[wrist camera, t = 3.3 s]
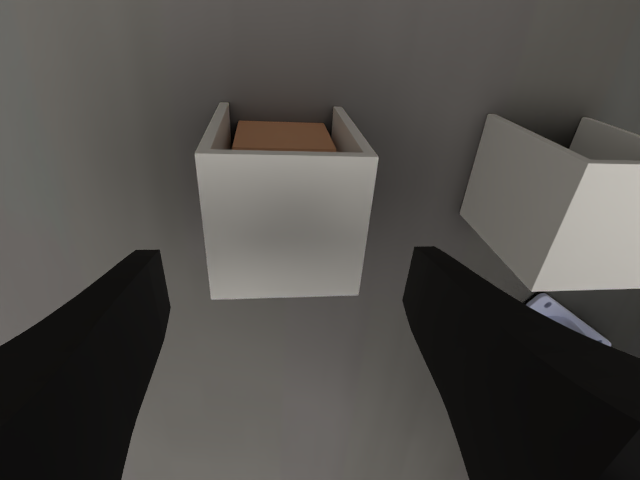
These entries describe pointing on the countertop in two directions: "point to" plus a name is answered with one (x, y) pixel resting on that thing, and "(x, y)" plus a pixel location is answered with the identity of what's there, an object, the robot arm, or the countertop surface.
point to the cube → (282, 136)
